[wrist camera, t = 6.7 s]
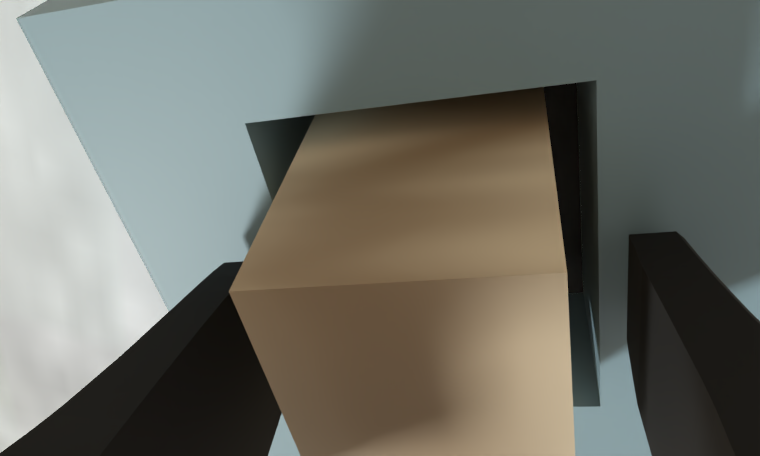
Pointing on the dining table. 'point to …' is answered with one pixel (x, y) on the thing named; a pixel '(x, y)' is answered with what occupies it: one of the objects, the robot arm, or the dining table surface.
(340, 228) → the key block
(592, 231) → the socket plate
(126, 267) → the dining table surface
